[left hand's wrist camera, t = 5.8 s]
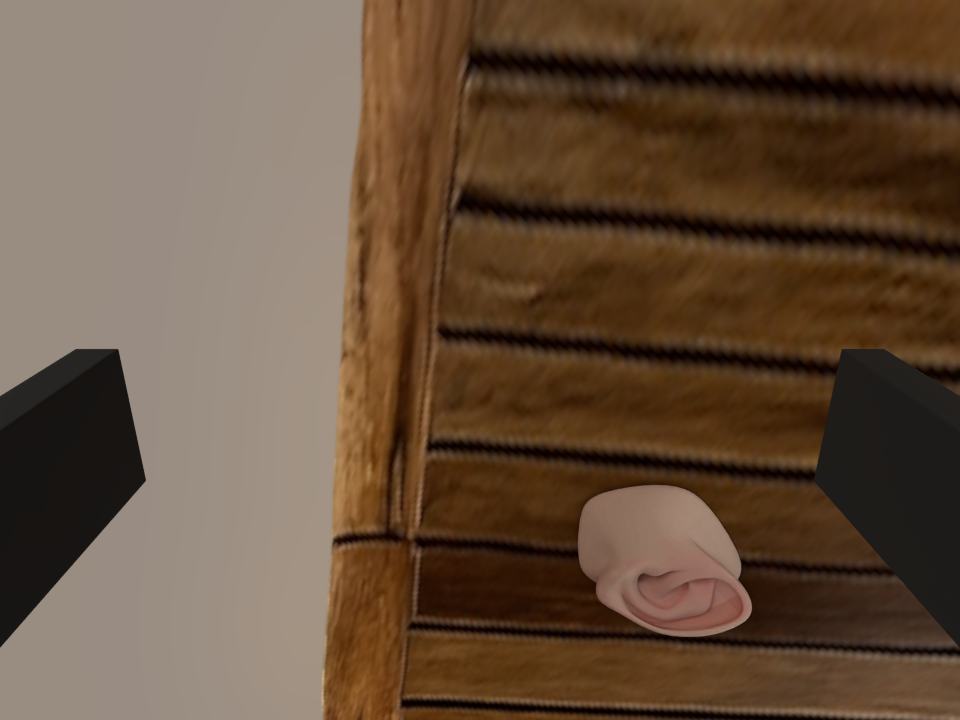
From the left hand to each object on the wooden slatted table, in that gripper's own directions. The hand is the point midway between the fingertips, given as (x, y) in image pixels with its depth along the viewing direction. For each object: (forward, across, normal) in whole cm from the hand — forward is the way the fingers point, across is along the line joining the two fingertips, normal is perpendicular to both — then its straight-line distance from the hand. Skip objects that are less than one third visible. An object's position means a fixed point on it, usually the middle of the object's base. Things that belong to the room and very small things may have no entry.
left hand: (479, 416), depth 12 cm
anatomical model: (+32, +14, -27) cm, 44 cm away
